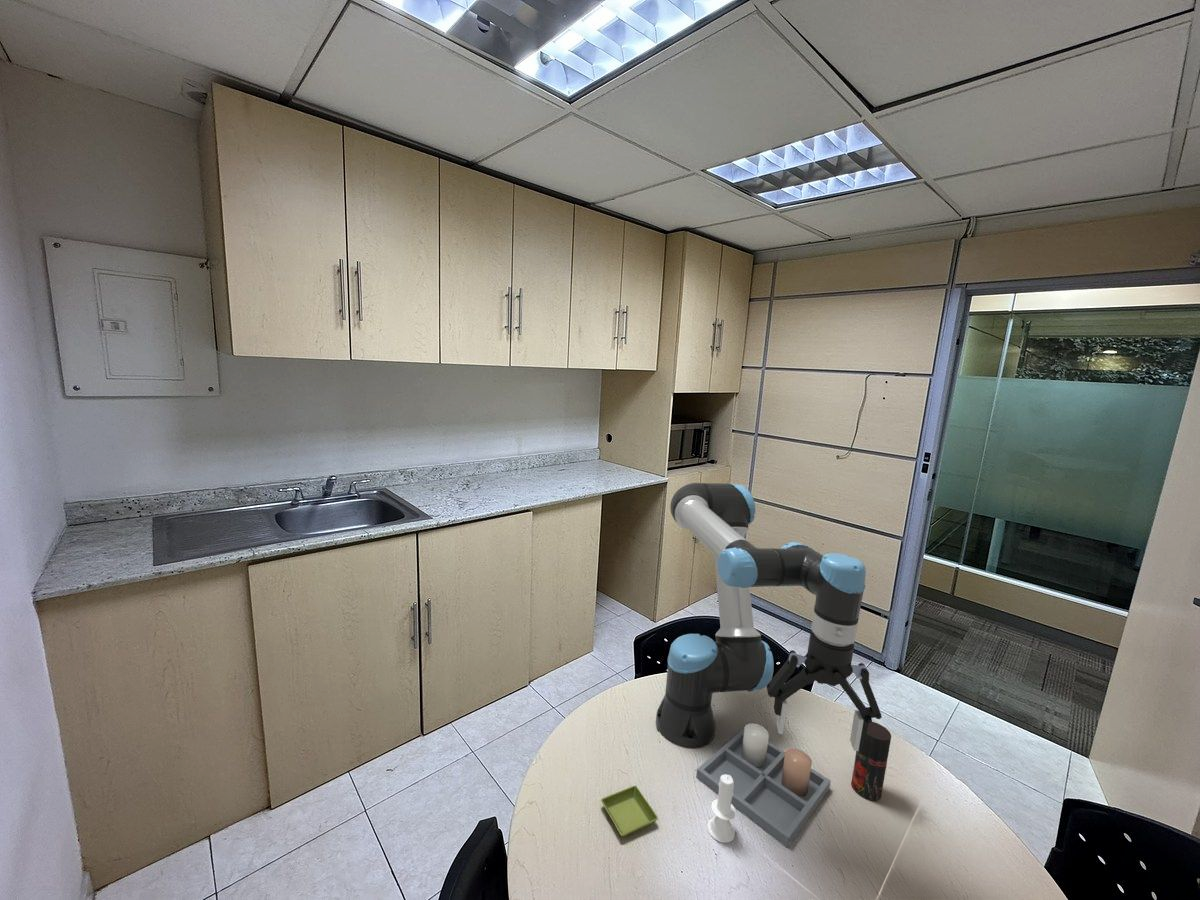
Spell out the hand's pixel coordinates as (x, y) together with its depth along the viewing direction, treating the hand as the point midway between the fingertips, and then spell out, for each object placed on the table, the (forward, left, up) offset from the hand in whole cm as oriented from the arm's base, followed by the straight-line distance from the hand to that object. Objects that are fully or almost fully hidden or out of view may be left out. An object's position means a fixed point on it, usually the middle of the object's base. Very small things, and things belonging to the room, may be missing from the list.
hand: (816, 737), depth 92 cm
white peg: (-11, -13, -21) cm, 27 cm away
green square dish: (-25, -25, -21) cm, 41 cm away
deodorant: (+5, +21, -21) cm, 30 cm away
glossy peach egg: (-6, +9, -20) cm, 23 cm away
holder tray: (-11, +4, -21) cm, 23 cm away
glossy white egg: (-16, +9, -20) cm, 27 cm away
